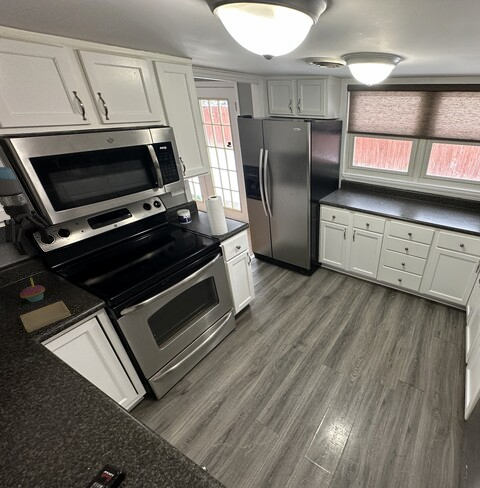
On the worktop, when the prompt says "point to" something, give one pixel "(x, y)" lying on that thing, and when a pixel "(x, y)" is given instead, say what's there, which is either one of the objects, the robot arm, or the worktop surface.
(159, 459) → the worktop surface
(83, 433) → the worktop surface
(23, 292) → the cupcake
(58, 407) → the worktop surface
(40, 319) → the tray
